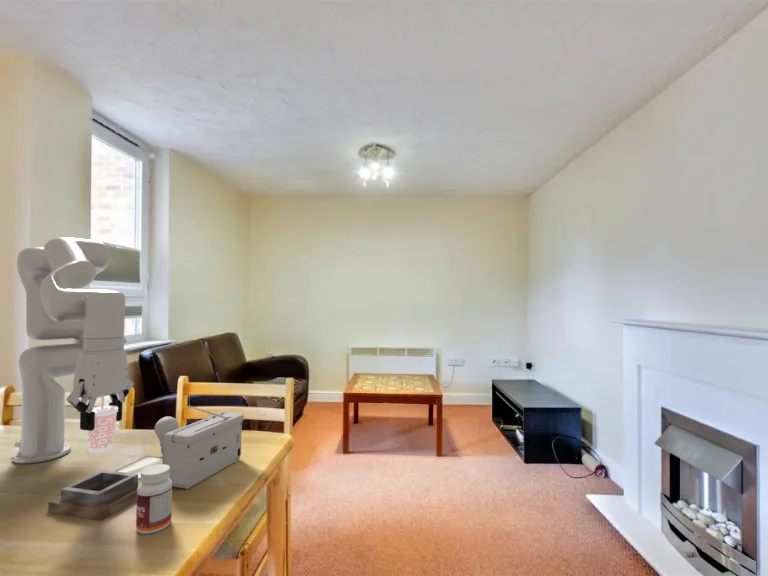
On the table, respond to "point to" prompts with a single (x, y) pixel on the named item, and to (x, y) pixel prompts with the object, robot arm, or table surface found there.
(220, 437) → the stereo radio cassette player
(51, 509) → the socket board
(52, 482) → the table surface
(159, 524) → the pill bottle
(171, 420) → the lightbulb
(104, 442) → the beverage cup
